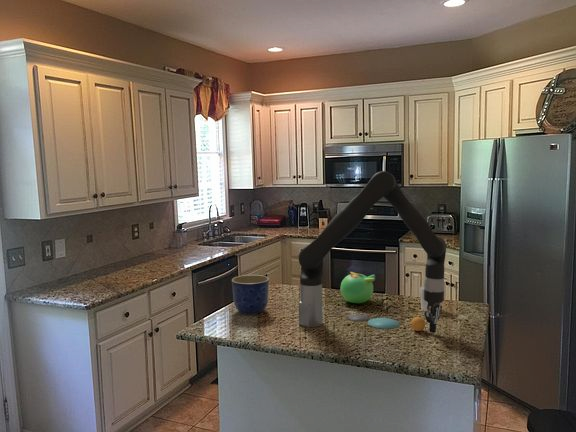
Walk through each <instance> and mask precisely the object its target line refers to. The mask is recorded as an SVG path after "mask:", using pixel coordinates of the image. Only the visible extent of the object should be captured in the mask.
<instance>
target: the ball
mask: <svg viewBox="0 0 576 432" xmlns="http://www.w3.org/2000/svg"><path fill="white" fill-rule="evenodd" d="M410 327H411V329H413V330H414V331H415V332H422V331H423V330H424V329H425V327H426V321H425V319H423V318H422V317H420V316H416V317H414V318H412V319H411V322H410Z"/></svg>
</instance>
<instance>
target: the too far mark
mask: <svg viewBox="0 0 576 432" xmlns="http://www.w3.org/2000/svg"><path fill="white" fill-rule="evenodd" d="M347 319H348V320H349V321H352V322H360V323H362V322H366V321H367V322H368V321H369V320H370V317H369V316H367V315H364V314H351V315H348V316H347Z"/></svg>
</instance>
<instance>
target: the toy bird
mask: <svg viewBox="0 0 576 432" xmlns="http://www.w3.org/2000/svg"><path fill="white" fill-rule="evenodd" d="M349 272H350V274H348V275H346V276H345V277H344V278H343V279H342V281H341V283H340V293H341V294H340V295H341V296H342V297H343V298H344V300H345V301H347V302H349V303H352V304H363V303H366V302H367V301H369V300H370V299H371V297H372V296H373V293H374V284H373V282H374V281H376V275H375V274H371V275H368V276H367V275H364V274H362V273H356V272H353V271H349Z"/></svg>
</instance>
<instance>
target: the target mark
mask: <svg viewBox="0 0 576 432" xmlns="http://www.w3.org/2000/svg"><path fill="white" fill-rule="evenodd" d="M367 324H368V325H369V326H370V327H372V328H376V329H381V330H390V329H391V330H392V329H395V328H398V327H399V326H400V323H399V321H397V320H395V319H391V318H388V317H386V318H385V317H376V318H371V319H368V320H367Z"/></svg>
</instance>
